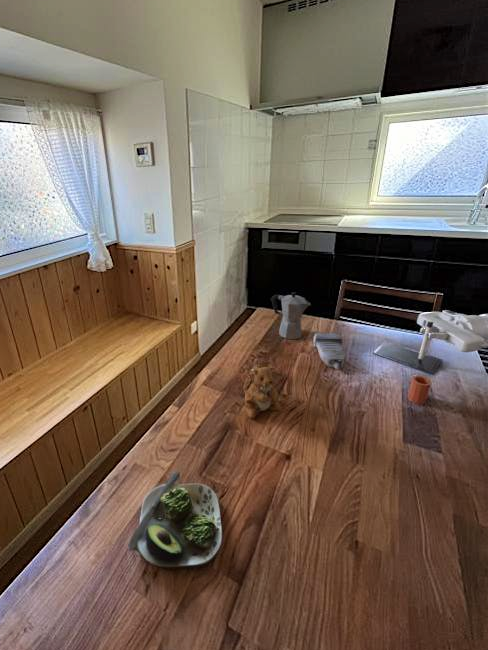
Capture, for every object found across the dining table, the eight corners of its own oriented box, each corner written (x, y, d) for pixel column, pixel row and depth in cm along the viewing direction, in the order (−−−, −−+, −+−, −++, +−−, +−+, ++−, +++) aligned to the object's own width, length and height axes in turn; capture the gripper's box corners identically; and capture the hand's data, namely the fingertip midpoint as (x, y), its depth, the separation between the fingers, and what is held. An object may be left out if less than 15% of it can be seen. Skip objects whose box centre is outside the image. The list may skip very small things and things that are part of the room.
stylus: (423, 360, 112) (434, 320, 106) (421, 362, 111) (432, 322, 105) (418, 358, 113) (429, 319, 107) (416, 360, 112) (427, 320, 106)
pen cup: (427, 399, 97) (433, 380, 94) (422, 407, 94) (428, 387, 91) (410, 392, 100) (415, 373, 97) (405, 400, 97) (410, 380, 94)
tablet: (441, 361, 113) (442, 359, 112) (432, 376, 106) (432, 373, 106) (384, 342, 125) (384, 340, 125) (372, 354, 118) (372, 352, 118)
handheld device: (323, 372, 110) (324, 360, 109) (310, 341, 129) (311, 330, 127) (353, 373, 109) (356, 361, 107) (336, 342, 127) (338, 331, 125)
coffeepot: (310, 333, 134) (315, 291, 127) (302, 343, 127) (306, 300, 120) (274, 323, 143) (276, 284, 135) (264, 333, 136) (266, 292, 129)
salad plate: (142, 477, 78) (139, 462, 76) (218, 476, 77) (218, 461, 76) (125, 571, 61) (122, 556, 59) (224, 571, 60) (224, 556, 58)
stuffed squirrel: (250, 421, 92) (252, 382, 87) (234, 389, 105) (234, 354, 100) (284, 415, 94) (287, 376, 89) (264, 384, 107) (266, 349, 101)
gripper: (491, 355, 101) (448, 359, 100) (438, 323, 119) (401, 327, 118) (498, 336, 98) (454, 341, 97) (443, 307, 117) (405, 311, 116)
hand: (424, 333), depth 108 cm, fingers closed on stylus, 1 cm apart
